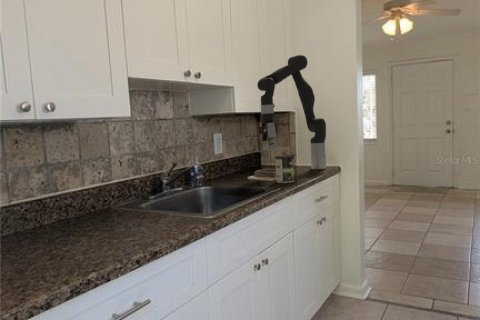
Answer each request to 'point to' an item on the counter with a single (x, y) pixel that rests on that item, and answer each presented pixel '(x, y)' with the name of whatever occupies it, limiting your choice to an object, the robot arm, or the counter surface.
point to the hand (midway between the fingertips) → (268, 140)
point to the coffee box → (269, 137)
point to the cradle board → (264, 175)
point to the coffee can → (285, 169)
